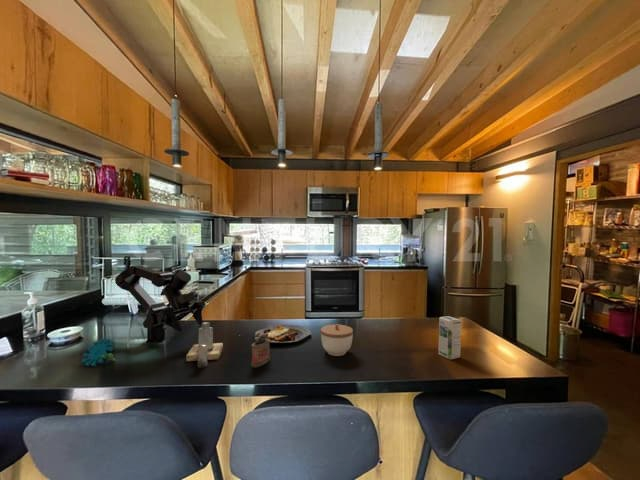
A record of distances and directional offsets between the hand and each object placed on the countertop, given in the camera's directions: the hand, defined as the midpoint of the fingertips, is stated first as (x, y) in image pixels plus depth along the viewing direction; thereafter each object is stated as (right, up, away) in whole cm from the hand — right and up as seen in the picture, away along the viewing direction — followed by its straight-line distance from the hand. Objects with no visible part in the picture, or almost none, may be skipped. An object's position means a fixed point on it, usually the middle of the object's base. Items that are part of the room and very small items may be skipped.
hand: (191, 328), depth 116 cm
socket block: (+7, -9, -4) cm, 12 cm away
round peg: (+10, -9, -14) cm, 19 cm away
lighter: (+30, -9, -11) cm, 33 cm away
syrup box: (+100, -10, -4) cm, 101 cm away
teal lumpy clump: (-27, -9, -12) cm, 31 cm away
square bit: (+7, -9, -4) cm, 12 cm away
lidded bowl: (+57, -9, -1) cm, 58 cm away
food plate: (+34, -9, +16) cm, 39 cm away
